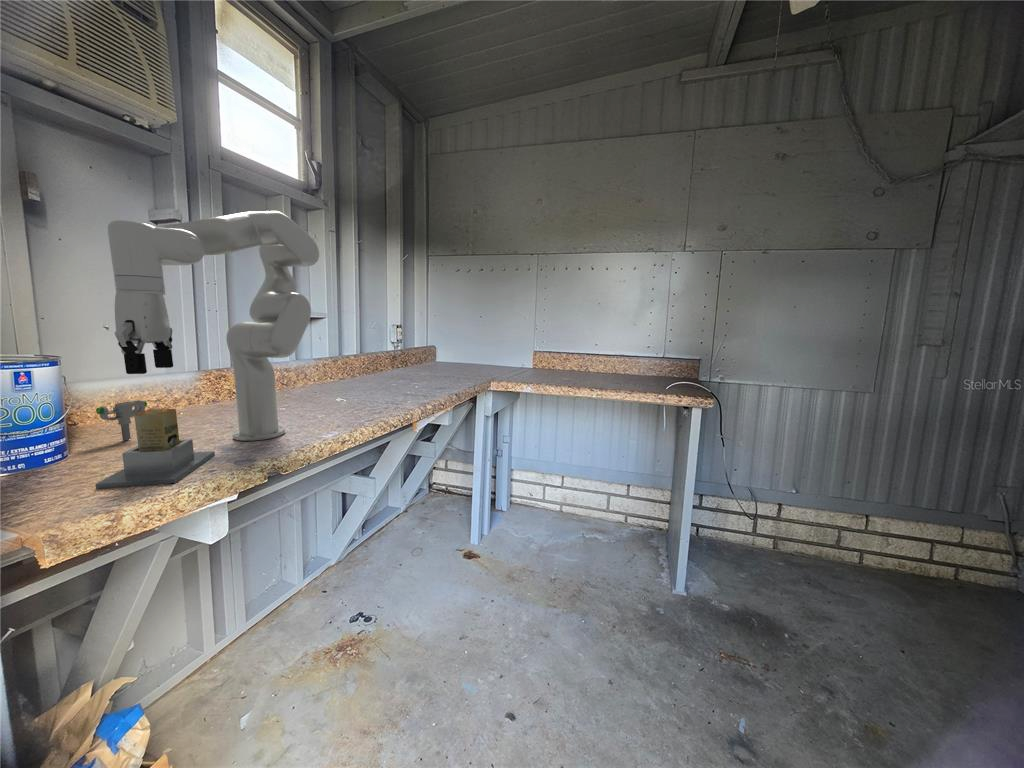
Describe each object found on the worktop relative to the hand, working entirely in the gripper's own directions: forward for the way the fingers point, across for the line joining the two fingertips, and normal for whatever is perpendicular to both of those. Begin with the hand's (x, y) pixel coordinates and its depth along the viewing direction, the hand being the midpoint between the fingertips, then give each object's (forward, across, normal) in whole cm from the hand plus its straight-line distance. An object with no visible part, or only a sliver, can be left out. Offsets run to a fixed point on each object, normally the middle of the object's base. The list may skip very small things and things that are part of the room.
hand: (151, 370), depth 87 cm
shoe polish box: (+21, 0, 0) cm, 21 cm away
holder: (+22, 0, 0) cm, 22 cm away
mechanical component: (+22, -27, -21) cm, 41 cm away
